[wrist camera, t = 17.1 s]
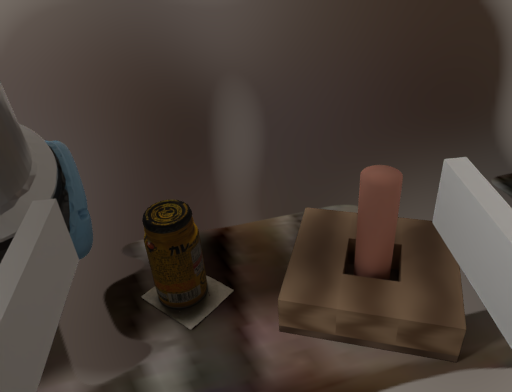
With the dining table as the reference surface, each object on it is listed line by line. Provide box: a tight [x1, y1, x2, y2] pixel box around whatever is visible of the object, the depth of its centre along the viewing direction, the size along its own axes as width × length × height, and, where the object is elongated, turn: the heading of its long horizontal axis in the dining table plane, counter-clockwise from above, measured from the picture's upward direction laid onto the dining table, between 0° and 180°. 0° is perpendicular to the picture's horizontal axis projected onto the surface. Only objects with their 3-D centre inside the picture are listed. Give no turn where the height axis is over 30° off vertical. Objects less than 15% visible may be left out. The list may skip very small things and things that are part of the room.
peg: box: [354, 165, 403, 280], centre depth 51 cm, size 4×4×15 cm
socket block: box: [278, 208, 466, 362], centre depth 54 cm, size 18×16×5 cm
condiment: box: [141, 200, 234, 329], centre depth 54 cm, size 7×8×12 cm
